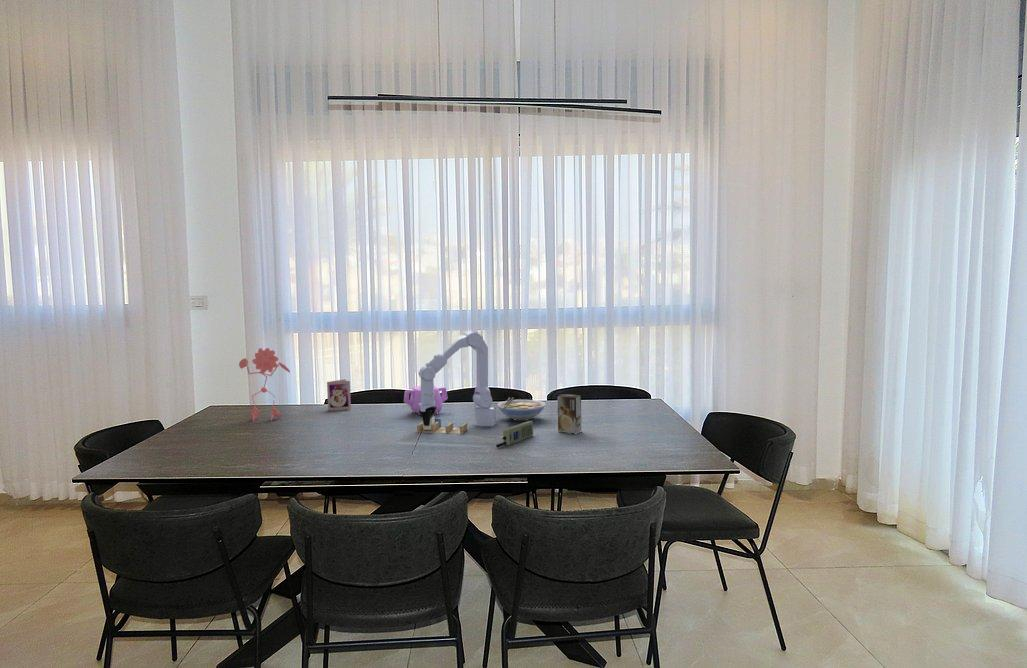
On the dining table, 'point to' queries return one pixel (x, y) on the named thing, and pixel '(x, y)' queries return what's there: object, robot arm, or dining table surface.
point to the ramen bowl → (521, 408)
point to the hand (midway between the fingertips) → (428, 424)
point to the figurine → (264, 362)
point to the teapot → (416, 398)
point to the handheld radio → (517, 433)
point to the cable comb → (442, 428)
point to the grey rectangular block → (432, 421)
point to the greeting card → (338, 395)
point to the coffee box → (569, 413)
